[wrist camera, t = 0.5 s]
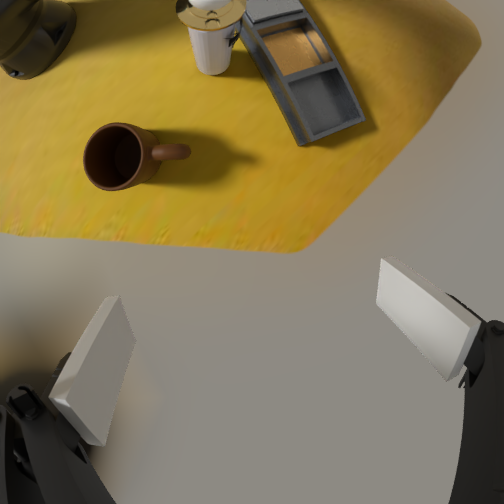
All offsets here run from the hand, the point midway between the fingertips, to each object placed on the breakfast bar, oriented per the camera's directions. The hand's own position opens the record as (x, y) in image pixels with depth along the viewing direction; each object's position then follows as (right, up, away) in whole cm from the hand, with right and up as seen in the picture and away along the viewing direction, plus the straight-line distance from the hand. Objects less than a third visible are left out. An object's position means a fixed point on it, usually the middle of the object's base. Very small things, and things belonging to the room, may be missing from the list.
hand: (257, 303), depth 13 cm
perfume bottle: (-5, +28, +17) cm, 33 cm away
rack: (+5, +30, +17) cm, 35 cm away
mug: (-14, +15, +20) cm, 29 cm away
